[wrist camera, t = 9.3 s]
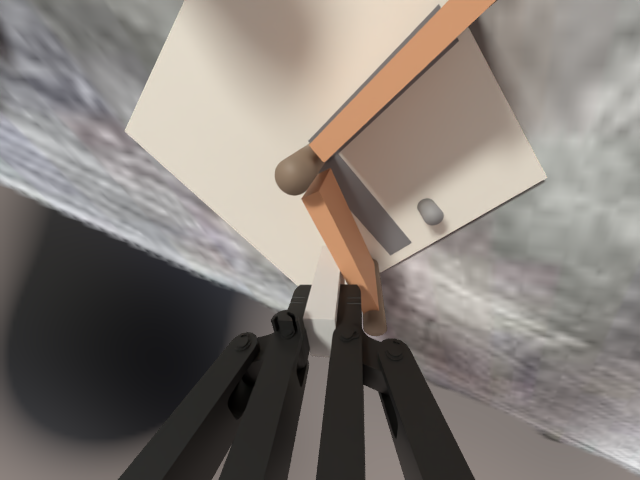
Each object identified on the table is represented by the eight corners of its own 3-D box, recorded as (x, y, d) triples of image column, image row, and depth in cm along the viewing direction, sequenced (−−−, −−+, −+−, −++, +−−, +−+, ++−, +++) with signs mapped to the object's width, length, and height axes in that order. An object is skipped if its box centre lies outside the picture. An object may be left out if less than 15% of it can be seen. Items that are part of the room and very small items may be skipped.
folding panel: (316, 173, 16) (293, 206, 10) (334, 164, 16) (320, 194, 10) (365, 273, 20) (368, 337, 14) (380, 268, 19) (390, 333, 14)
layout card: (312, -259, 9) (297, -375, 7) (543, 175, 15) (572, 186, 13) (129, 130, 17) (98, 133, 15) (321, 303, 23) (317, 322, 21)
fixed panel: (468, -21, 11) (608, -190, 5) (484, 11, 11) (629, -106, 5) (302, 151, 16) (267, 175, 10) (317, 169, 16) (293, 202, 10)
